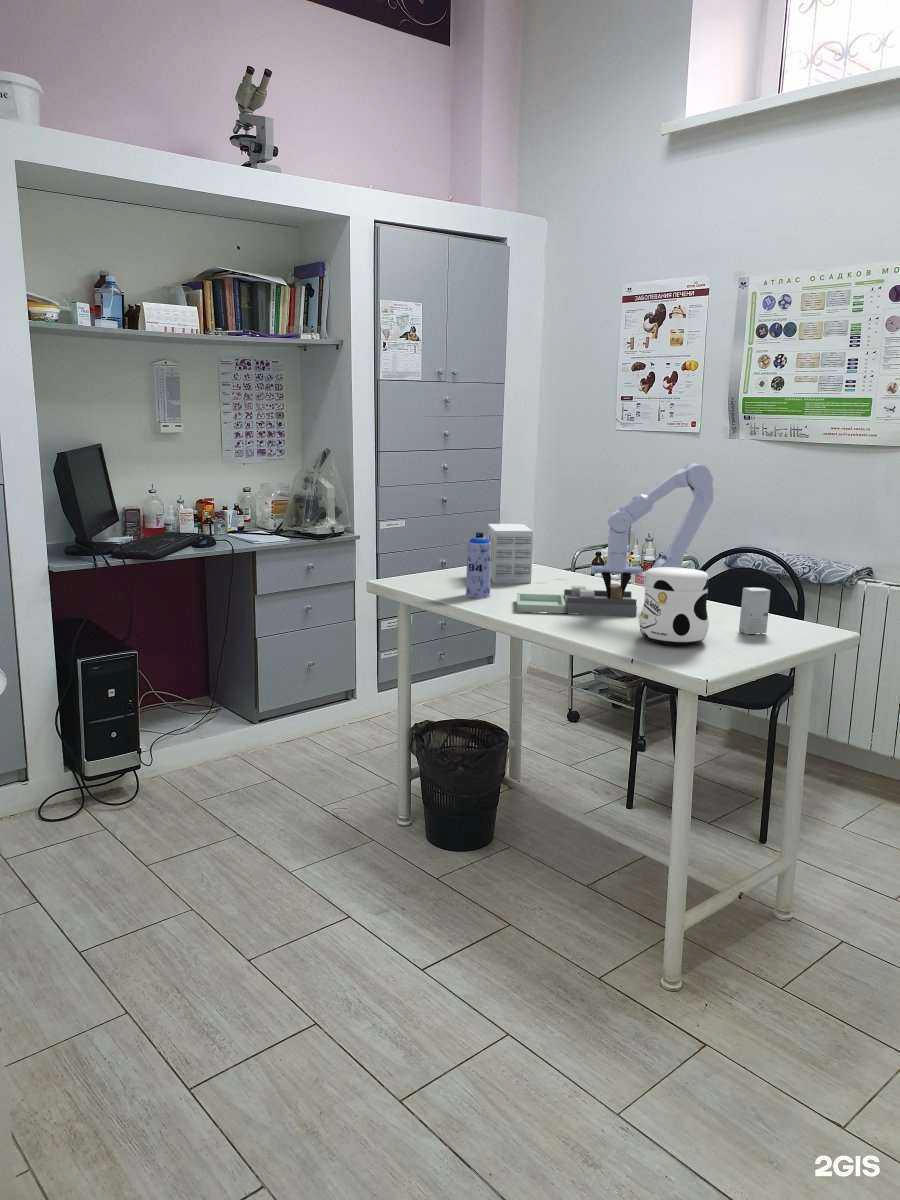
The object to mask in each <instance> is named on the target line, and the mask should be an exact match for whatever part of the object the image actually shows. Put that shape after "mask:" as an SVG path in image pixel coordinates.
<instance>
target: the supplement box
mask: <svg viewBox="0 0 900 1200" xmlns="http://www.w3.org/2000/svg"><path fill="white" fill-rule="evenodd" d="M487 539H488V540H489V542H491V575H490V581H491V582H492V583H493V584H531V583H532V573H533V572H532V571H533V569H532V567H533V548H534V547H533V546H534V545H533V544H534V530H533V529H531V528H530V527H528V526H527V525H526V524H524V523H488V524H487Z"/></svg>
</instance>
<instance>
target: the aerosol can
mask: <svg viewBox="0 0 900 1200" xmlns="http://www.w3.org/2000/svg"><path fill="white" fill-rule="evenodd" d="M466 547H467V548H466V578H465V579H466V580H465V582H466V585H465V595H466V596H467V598H469V597H472V598H471V599H487V598H486V597H489V598H491V578H490V575H491V542H489V540H488V537H486V536H484V532H475V536H473V537H471V538H470V539H469V541H467V546H466ZM466 596H465V597H466Z"/></svg>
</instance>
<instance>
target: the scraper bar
mask: <svg viewBox="0 0 900 1200" xmlns="http://www.w3.org/2000/svg"><path fill="white" fill-rule="evenodd" d="M620 586H621V584H619V583H611V585H610V598H613V599H622V588H621V587H620Z"/></svg>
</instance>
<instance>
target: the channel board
mask: <svg viewBox="0 0 900 1200" xmlns="http://www.w3.org/2000/svg"><path fill="white" fill-rule="evenodd" d="M593 590H594V598H583V597H572V596H571V588H570V589H567V588H565V589H563V596H564V600H565V603H566V613H578V614H577V615H586V614H601V615H600V616H616V615H617V616H618V617H619V616H620V617H621V616H622V617H623V616H624V617H637V611H638V609H637V608H638V606H637V599H636V598H633V597H632V591H631V590H630V591H629V590H628V591H627V590H625V591H624V594H623V599H613V598H607V591H606V590H603V589H601V590H599V589H593Z"/></svg>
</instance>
